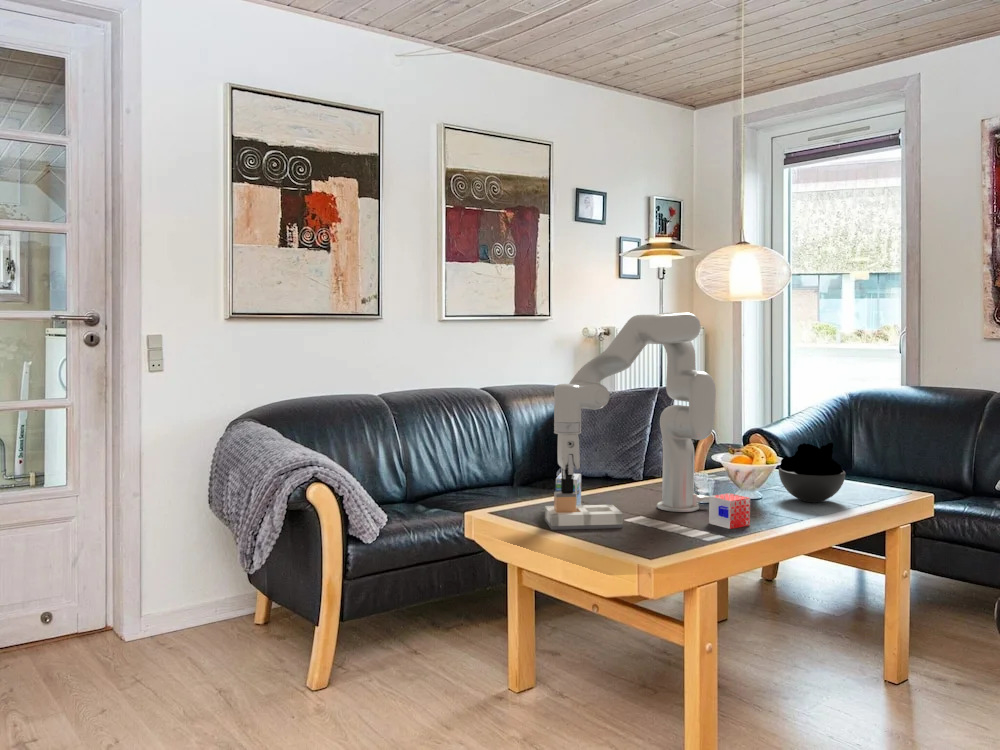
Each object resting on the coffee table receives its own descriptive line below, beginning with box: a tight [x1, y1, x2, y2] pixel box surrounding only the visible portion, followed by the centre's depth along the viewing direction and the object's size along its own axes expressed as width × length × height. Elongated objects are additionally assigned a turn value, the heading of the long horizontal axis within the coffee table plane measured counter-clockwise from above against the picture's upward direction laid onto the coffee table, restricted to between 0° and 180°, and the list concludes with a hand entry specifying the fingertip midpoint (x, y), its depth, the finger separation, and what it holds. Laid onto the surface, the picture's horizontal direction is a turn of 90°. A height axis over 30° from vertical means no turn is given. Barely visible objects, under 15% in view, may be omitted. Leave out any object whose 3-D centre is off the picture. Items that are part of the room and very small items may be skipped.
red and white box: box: [708, 492, 751, 530], centre depth 246 cm, size 8×8×8 cm
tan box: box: [553, 491, 576, 513], centre depth 246 cm, size 6×4×8 cm
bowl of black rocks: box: [778, 442, 846, 503], centre depth 276 cm, size 20×20×19 cm
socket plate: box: [544, 504, 624, 531], centre depth 247 cm, size 20×12×4 cm, turn 96°
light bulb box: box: [555, 472, 582, 505], centre depth 264 cm, size 11×7×11 cm, turn 168°
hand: (567, 492), depth 246 cm, fingers closed
